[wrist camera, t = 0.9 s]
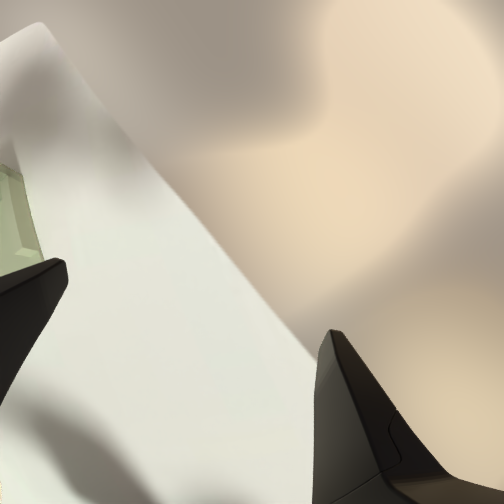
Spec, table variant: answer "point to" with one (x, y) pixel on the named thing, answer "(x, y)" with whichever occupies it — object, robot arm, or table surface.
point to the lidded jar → (0, 493)
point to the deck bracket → (16, 225)
